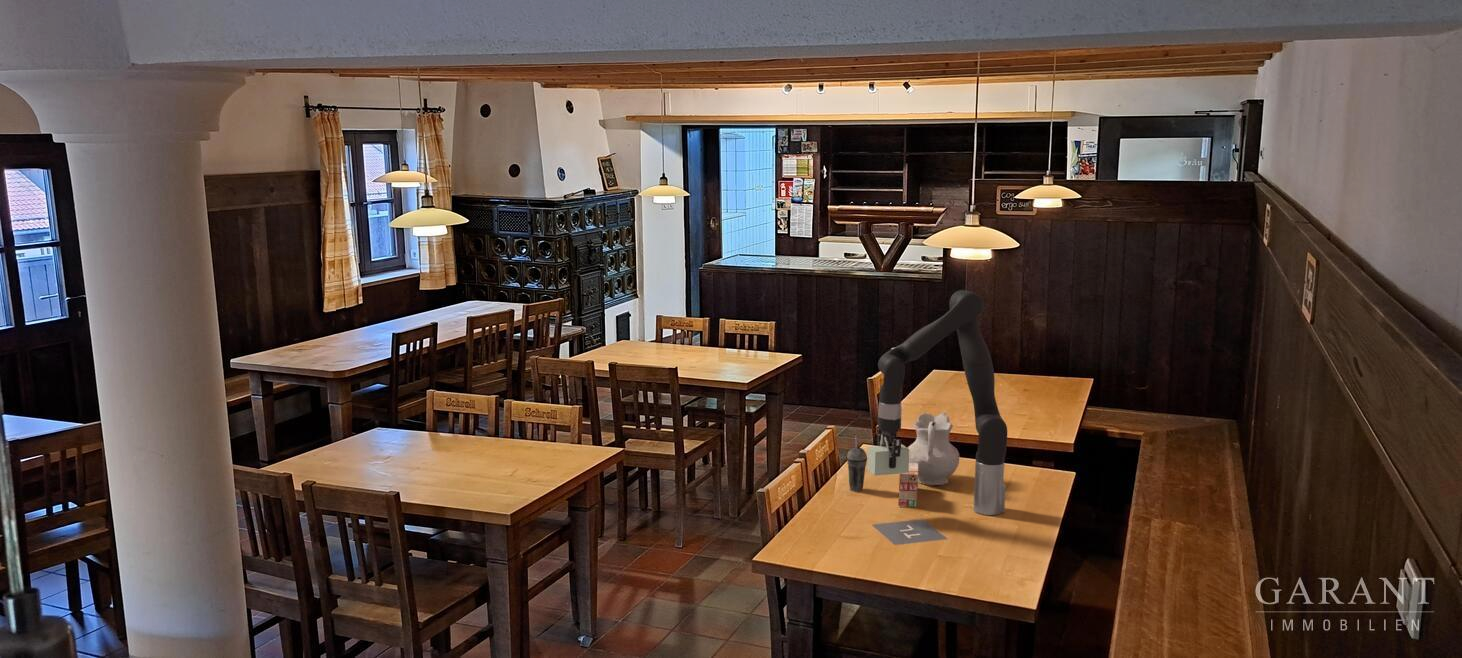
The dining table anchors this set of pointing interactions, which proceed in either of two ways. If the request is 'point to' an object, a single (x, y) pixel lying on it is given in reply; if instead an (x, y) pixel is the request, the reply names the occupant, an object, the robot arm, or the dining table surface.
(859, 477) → the beverage cup
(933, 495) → the dining table surface
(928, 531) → the gray tile
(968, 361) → the robot arm
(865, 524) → the dining table surface
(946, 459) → the ceramic pitcher
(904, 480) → the stack of blocks
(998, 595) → the dining table surface
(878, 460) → the sage block
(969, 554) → the dining table surface
